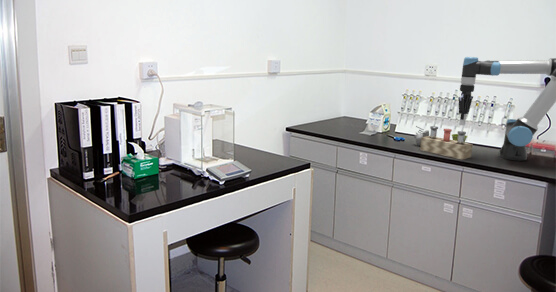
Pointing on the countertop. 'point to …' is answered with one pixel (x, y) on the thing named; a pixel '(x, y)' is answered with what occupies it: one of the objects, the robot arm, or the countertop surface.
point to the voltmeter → (420, 136)
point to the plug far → (433, 132)
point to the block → (446, 147)
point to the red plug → (447, 135)
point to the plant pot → (455, 137)
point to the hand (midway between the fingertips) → (462, 124)
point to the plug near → (461, 137)
